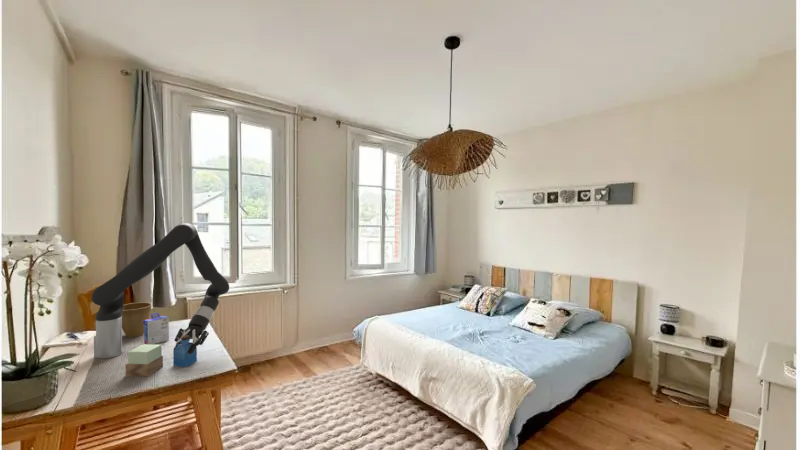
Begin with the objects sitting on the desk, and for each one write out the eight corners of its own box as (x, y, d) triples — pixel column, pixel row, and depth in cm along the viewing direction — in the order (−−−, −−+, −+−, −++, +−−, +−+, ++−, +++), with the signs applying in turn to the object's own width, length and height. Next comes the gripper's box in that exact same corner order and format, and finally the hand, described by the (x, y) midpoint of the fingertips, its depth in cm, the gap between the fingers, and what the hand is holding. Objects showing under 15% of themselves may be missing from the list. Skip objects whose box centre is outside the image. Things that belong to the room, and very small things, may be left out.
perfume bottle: (185, 366, 149) (185, 339, 149) (173, 365, 150) (173, 338, 150) (196, 361, 155) (196, 334, 155) (184, 359, 156) (184, 333, 156)
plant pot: (115, 334, 187) (115, 305, 186) (149, 328, 197) (149, 301, 197) (118, 342, 176) (117, 311, 176) (153, 335, 186) (153, 306, 186)
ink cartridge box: (164, 337, 183) (164, 310, 183) (169, 340, 180) (169, 312, 180) (143, 343, 175) (142, 315, 174) (148, 345, 172) (147, 317, 172)
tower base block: (125, 376, 140) (125, 364, 140) (141, 366, 149) (141, 355, 149) (148, 376, 140) (147, 364, 140) (162, 367, 149) (162, 355, 149)
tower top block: (128, 363, 141) (128, 351, 141) (143, 355, 149) (143, 344, 149) (147, 364, 141) (147, 352, 140) (161, 356, 149) (161, 344, 148)
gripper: (183, 313, 161) (162, 347, 150) (211, 314, 158) (192, 350, 147) (192, 320, 166) (172, 355, 155) (219, 322, 164) (201, 357, 152)
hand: (182, 352), depth 151 cm, fingers closed on perfume bottle, 6 cm apart
